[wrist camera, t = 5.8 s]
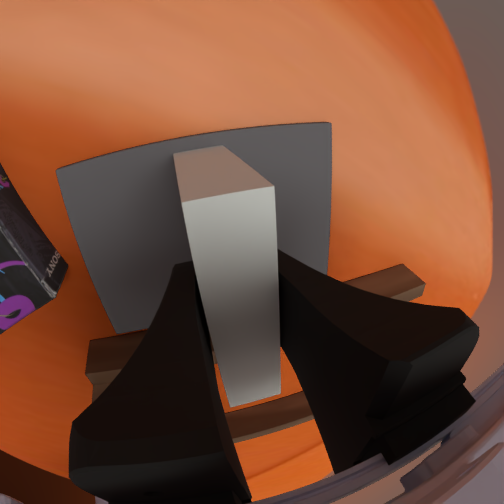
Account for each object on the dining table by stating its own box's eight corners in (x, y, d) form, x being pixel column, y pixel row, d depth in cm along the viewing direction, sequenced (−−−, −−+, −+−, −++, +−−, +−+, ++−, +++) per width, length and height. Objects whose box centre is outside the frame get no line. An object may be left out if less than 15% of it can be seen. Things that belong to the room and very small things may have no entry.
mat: (322, 281, 17) (326, 285, 17) (117, 329, 15) (116, 333, 14) (326, 122, 12) (331, 123, 12) (58, 168, 10) (55, 170, 10)
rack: (371, 369, 25) (393, 399, 21) (154, 432, 21) (159, 472, 17) (402, 263, 18) (440, 296, 15) (89, 340, 14) (82, 397, 11)
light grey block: (241, 301, 15) (280, 393, 10) (203, 309, 15) (230, 407, 10) (222, 145, 11) (274, 185, 6) (172, 153, 11) (181, 202, 6)
